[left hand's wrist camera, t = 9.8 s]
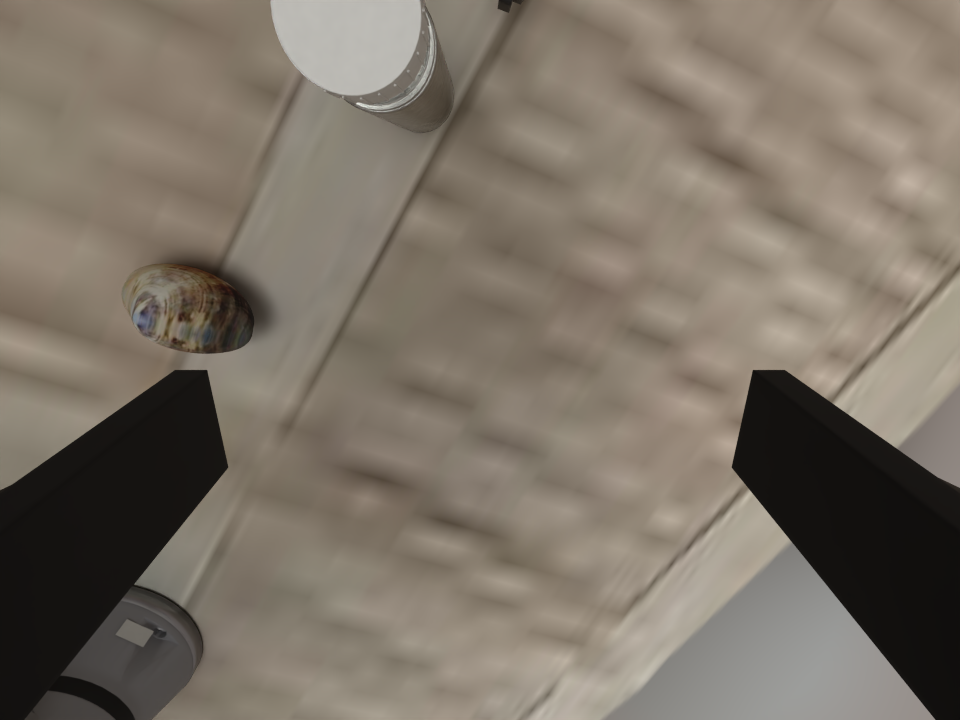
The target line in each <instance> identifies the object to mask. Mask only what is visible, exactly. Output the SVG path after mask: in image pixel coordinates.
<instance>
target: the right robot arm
mask: <svg viewBox="0 0 960 720" xmlns="http://www.w3.org/2000/svg"><path fill="white" fill-rule="evenodd" d="M512 1H513V2H515V3H518V4H521V3H522V2H523V0H499V3H498V9H500V10H503V11H505V12H508V13H509V11H510V8H511V4H512Z"/></svg>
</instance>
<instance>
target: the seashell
mask: <svg viewBox="0 0 960 720" xmlns="http://www.w3.org/2000/svg"><path fill="white" fill-rule="evenodd" d="M122 300H123V304H124V306H125V308H126V310H127V312H128V313H129V315H130V317H131V318H132V321H133V324H134V326H135V327H136V329H137V330H138V331H139V332H140V333H141V334H142V335H143V336H145V337H146V338H148V339H149V340H151V341H153V342H155V343H157V344H160V345H162V346H165V347H168V348H171V349H175V350H179V351H184V352H190V353H202V354H210V353H223V352H229V351H233V350H236V349H239V348H241V347H243V346H244V345H246V344H247V343H248V342H249V341H250V339H251V337H252V332H253V325H254V317H253V313H252V310H251V308H250V306H249V304H248V303H247V301H246V300H245V298H244V297H243V296H242V295H241V294H240V293H239V292H238V291H237V290H236V289H235V288H233V287H232V286H231V285H229V284H228V283H227V282H225V281H223V280H222V279H220V278H218V277H216V276H214V275H212V274H210V273H208V272H205V271H202V270H199V269H196V268H193V267H188V266H183V265H176V264H154V265H148V266H144V267H142V268H139V269H137V270H135V271H134V272H133V273H131V274H130V275H129V277H128V278H127V280H126V282H125V284H124V286H123V288H122Z"/></svg>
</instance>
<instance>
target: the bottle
mask: <svg viewBox="0 0 960 720" xmlns="http://www.w3.org/2000/svg"><path fill="white" fill-rule="evenodd" d="M424 7H425V11H426V15H427V18H428V21H429V24H430V26H428V42H429V46H427V51H426V56H425V59H424V65H423V64H422V67H421V69H420V71H419V73H418V74H417V76H416V77H415V79H416V80H415V81H414V80H413V82H412V83H411V84H410V85H409V86H408V87H407V88H406V89H405V90H404V93H400V94H398V95H397V96H395V97H393V98H391V99H389V101H388V102H387V101H383V102H379V103H373V105H370V104H368V103H358V102H357V104H354V103H352V102H350V101H348V100H346V101H347V102H348V103H350V104H351V105H353V106H355V107H356V108H359V109H361V110H363V111H366V112H368V113H370V114H373V115H375V116H377V117H380V118H382V119H384V120H387V121H389V122H391V123H394V124H396V125H398V126H401V127H403V128H405V129H408V130H410V131H413V132H429V131H432V130H434V129H436V128H438V127H439V126H440V125H442V124H443V123H444V122H445V120H446V119H447V118H448V116H449V114H450V112H451V110H452V107H453V102H454V89H453V84H452V81H451V78H450V74H449V71H448V68H447V65H446V62H445V58H444V55H443V52H442V49H441V46H440V43H439V39H438V36H437V33H436V30H435V27H434V23H433V21H432V18H431V16H430V14H429V12H428V10H427V8H426V6H424ZM344 100H345V99H344Z"/></svg>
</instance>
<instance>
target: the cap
mask: <svg viewBox="0 0 960 720" xmlns="http://www.w3.org/2000/svg"><path fill="white" fill-rule="evenodd" d="M424 6H426V4H425V1H424V0H271V12H272V19H273V23H274V27H275V30H276V33H277V36H278V39H279V41H280V43H281V45H282V47H283V49H284V51H285V53H286V54H287V56H288V58H289V59H290V61H291V62H292V63H293V64H294V66H295V67H296V68H297V69H298V70H299V71H300V72H301V73H302V74H303V75H304V76H305V77H306V78H307V80H309V81H311V82H313V83H314V84H316V85H317V86H319V87H321V88H323V89H324V90H323V91H325V92H327V93H329V94H331V95H333V96H336V97H338V98H340V97H341V98H343V99H345V100H348V101H350V102H352V103H354V104H357V102H358V103H368V104H370V105H373V103H379V102H383V101H387V102H388V101H389V99H391V98H393V97H395V96H397V95H398V94H400V93H404V90H405V89H406V88H407V87H408V86H409V85H410V84H411V83H412V82H413V80H414V81H415V80H416V79H415V77H416V76H417V74H418V73H419V71H420V69H421V67H422V64H423V65H424V59H425V56H426V51H427V46H429V42H428V26H430V24H429V21H428V18H427V15H426V11H425V7H424Z"/></svg>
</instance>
